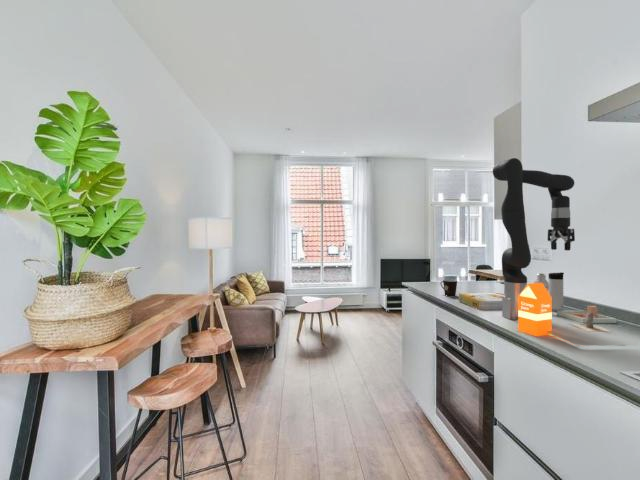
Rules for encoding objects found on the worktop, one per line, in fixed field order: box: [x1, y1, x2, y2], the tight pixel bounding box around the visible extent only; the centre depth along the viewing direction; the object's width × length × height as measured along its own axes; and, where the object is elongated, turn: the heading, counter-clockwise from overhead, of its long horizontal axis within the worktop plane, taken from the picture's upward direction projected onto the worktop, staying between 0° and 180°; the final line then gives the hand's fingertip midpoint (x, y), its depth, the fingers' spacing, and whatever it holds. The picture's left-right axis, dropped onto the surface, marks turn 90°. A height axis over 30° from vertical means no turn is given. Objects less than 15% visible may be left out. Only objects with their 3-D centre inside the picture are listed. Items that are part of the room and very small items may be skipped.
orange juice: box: [517, 282, 553, 337], centre depth 125 cm, size 8×9×20 cm
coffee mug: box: [440, 279, 458, 297], centre depth 204 cm, size 12×9×10 cm
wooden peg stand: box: [568, 312, 612, 332], centre depth 127 cm, size 10×10×7 cm
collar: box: [570, 305, 599, 318], centre depth 140 cm, size 10×7×6 cm
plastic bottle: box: [533, 273, 549, 291], centre depth 154 cm, size 6×7×20 cm
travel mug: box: [547, 272, 565, 313], centre depth 160 cm, size 6×7×20 cm
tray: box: [556, 310, 617, 324], centre depth 140 cm, size 15×15×3 cm
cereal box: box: [458, 292, 504, 310], centre depth 175 cm, size 20×6×28 cm
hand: (560, 250), depth 152 cm, fingers open, 8 cm apart
